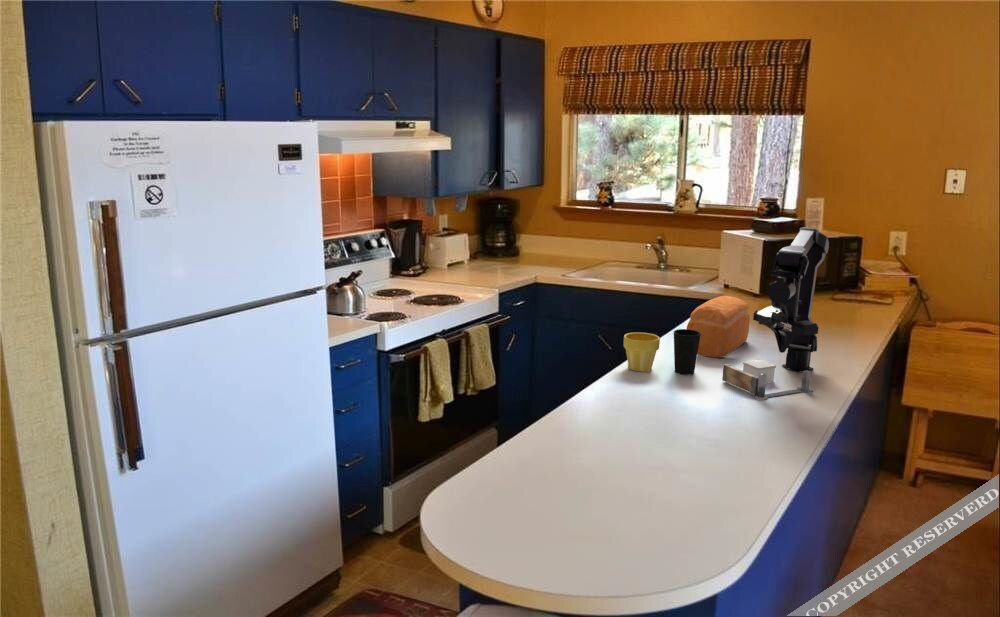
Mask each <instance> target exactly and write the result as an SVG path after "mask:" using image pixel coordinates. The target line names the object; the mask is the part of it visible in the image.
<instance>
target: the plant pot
mask: <svg viewBox="0 0 1000 617" xmlns="http://www.w3.org/2000/svg"><path fill="white" fill-rule="evenodd" d="M660 340H661V338H660V336H658V335H656V334H655V333H648V332H628V333H625V334H624V336H623V348H624V349H625V354H626V358H627V366H628V368H629V370H632V371H634V372H640V373H642V372H643V373H644V372H650V371H651V370H652V368H653V364H654V361H655V358H656V355H657V351H659V350H660V343H661V342H660Z"/></svg>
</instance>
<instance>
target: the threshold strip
mask: <svg viewBox="0 0 1000 617" xmlns="http://www.w3.org/2000/svg"><path fill="white" fill-rule="evenodd" d="M801 393H803V392H802V391H801V390H798V389H797V388H796V389H790V390H789V389H788V390H783V391H777V392H770V393H765V395H766V396H767V397H768V399H770V398H776V397H783V396H787V395H788V396H790V395H795V394H801Z"/></svg>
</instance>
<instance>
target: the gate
mask: <svg viewBox="0 0 1000 617" xmlns="http://www.w3.org/2000/svg"><path fill="white" fill-rule="evenodd" d="M721 380H722V381H723V382H724V383H725V382H726V383H727V384H730V385H732V386H735V387H737V388H740V389H741V390H744V391H746V392H748V393H751V394H752V395H753V396H754V395H756V394H757V387H758V376H754V375H752V374H749V373H747V372H744V371H743V369H742V370H741V369H740V368H737V367H734V366H732V365H731V364H728V363H726V364H723V367H722V378H721Z"/></svg>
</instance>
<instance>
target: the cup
mask: <svg viewBox="0 0 1000 617" xmlns="http://www.w3.org/2000/svg"><path fill="white" fill-rule="evenodd" d="M700 336H701V333H700V332H698V331H695V330H690V329H687V328H678V329H675V330H674V331H673V355H674V356H673V358H674V363H673V364H674V373H675V374H678V375H682V376H691V375H692V376H693V374H695V369H696V364H697V360H698V359H697V358H698V355H697V353H698V348H699V342H700Z"/></svg>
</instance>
